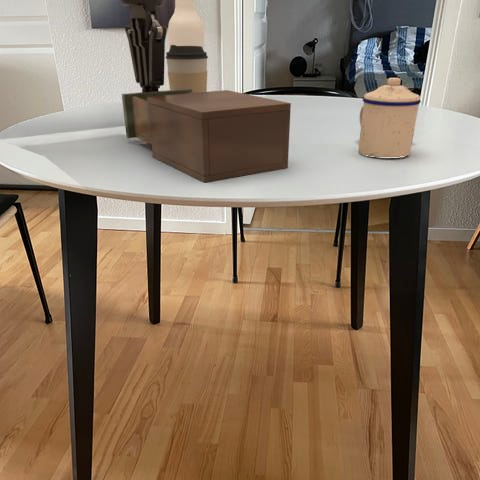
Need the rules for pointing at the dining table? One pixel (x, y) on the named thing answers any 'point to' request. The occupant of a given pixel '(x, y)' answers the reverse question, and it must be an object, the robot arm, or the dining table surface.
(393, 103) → the teacup with lid
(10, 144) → the dining table surface
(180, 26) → the alcohol
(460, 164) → the dining table surface
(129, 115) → the drawer
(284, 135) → the cabinet
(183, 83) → the coffee cup
